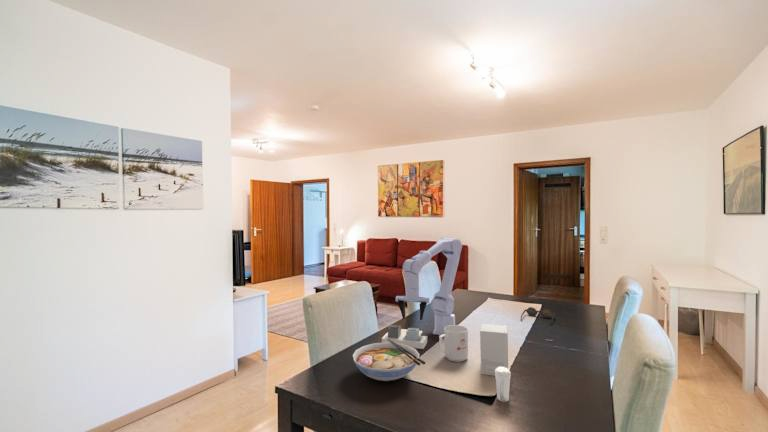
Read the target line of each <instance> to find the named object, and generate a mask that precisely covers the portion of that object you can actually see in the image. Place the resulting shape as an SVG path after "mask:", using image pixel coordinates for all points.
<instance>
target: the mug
mask: <svg viewBox="0 0 768 432" xmlns="http://www.w3.org/2000/svg"><path fill="white" fill-rule="evenodd" d="M443 337H444V340H443ZM438 339H439V342H438V344H439V350H440V352H441V353H443V354H444V356H445V358H446V359H447V360H449V361H450V362H455V363H458V362H464V361H466V360H467V359H468V357H469V329H468V327H466V326H463V325H460V324H459V325H458V324H455V325H449V326H446V327H445V328H444V334H442V335H438ZM443 341H444V344H443ZM443 345H444V346H443ZM443 347H444V348H443ZM443 349H444V350H443Z"/></svg>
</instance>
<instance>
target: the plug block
mask: <svg viewBox="0 0 768 432" xmlns="http://www.w3.org/2000/svg"><path fill="white" fill-rule="evenodd" d="M419 331H420V328H418V327H417V328H416V327H408V328H407V331H406V340H408V341H417V342H419Z"/></svg>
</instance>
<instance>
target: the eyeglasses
mask: <svg viewBox="0 0 768 432" xmlns="http://www.w3.org/2000/svg"><path fill="white" fill-rule="evenodd" d="M525 312H526V313H527V315H528V316H532V317H533V316H534V317H536V316H538V313H540V315H542V318H548V319H551V320H550V323H549V325H548V326H549V327H550V326H551V325H552V323H553V319H554V317H555V316H556V315H555V312H552V310H551V309H547V308H545V309H543V310H542V311H541V310H537V309H536V308H535V307H531V306H530V307H528V308H527V309H524V311H523V312H522V313H521V314H520V315H521V316H520V321H521V322H523V320H522V318H523V315H524V314H525Z"/></svg>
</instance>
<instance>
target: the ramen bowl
mask: <svg viewBox="0 0 768 432" xmlns="http://www.w3.org/2000/svg"><path fill="white" fill-rule="evenodd" d="M387 340H388V339H387ZM389 340H390V339H389ZM389 340H388V341H389ZM390 342H391V340H390ZM392 342H393V341H392ZM392 342H391V343H387V342H384V343H382V342H375V343H370V344H366V345H363V346H361V347H359V348H356V349H355V351H353V354H352V358H353V362H354V364H355V365H356V367H357V369H358V370H359V371H360V372H361V373H362V374H363V375H365V376H366V377H367V378H368V377H369V378H370V379H373V380H377V381H382V382H389V381H396V380H399V379H401V378H403V377H405V376H407V375H408V374H410V373H411V372H412V371H413V370H414V368H415V367H416V365H417V366H421V364H422V365H424V366H425V365H426V362H425V361H424V360H423V359H420V353H419V352H418V349H417V348H412V347H410V346H408V345H404V344H399V343H394V342H393V343H392Z"/></svg>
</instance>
